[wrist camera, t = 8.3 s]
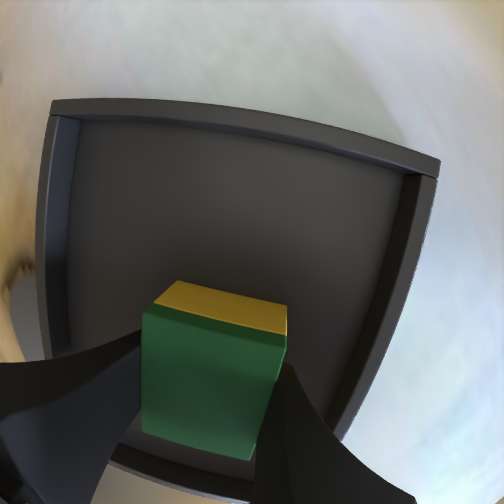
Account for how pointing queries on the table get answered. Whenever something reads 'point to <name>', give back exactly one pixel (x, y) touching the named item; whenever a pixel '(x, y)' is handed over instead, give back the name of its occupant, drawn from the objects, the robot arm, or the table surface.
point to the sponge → (210, 367)
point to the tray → (227, 246)
